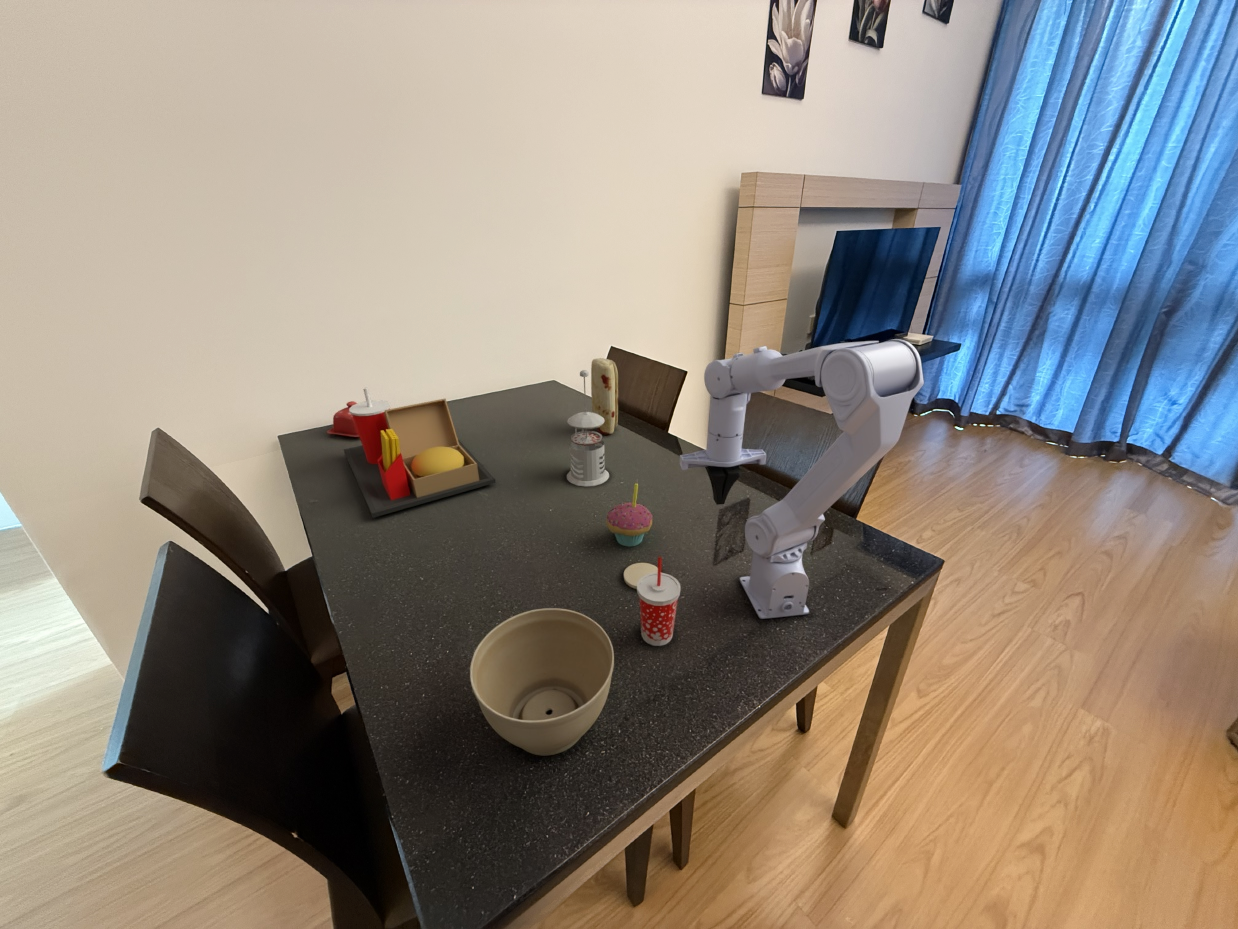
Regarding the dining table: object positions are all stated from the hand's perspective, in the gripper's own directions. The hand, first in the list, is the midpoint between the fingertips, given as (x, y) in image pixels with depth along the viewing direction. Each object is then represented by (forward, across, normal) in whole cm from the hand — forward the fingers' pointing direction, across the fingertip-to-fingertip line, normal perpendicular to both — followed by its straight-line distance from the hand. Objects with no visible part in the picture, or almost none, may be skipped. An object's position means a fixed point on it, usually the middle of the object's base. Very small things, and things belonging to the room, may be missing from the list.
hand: (718, 501), depth 93 cm
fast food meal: (+10, +60, -39) cm, 72 cm away
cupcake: (+10, +15, -4) cm, 18 cm away
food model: (+10, +14, -55) cm, 58 cm away
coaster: (+9, +15, +7) cm, 19 cm away
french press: (+10, +21, -31) cm, 39 cm away
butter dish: (+10, +81, -65) cm, 104 cm away
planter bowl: (+10, +31, +32) cm, 46 cm away
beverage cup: (+10, +15, +20) cm, 27 cm away
